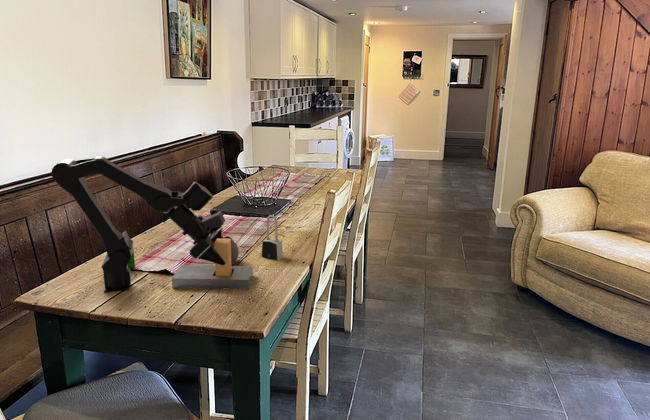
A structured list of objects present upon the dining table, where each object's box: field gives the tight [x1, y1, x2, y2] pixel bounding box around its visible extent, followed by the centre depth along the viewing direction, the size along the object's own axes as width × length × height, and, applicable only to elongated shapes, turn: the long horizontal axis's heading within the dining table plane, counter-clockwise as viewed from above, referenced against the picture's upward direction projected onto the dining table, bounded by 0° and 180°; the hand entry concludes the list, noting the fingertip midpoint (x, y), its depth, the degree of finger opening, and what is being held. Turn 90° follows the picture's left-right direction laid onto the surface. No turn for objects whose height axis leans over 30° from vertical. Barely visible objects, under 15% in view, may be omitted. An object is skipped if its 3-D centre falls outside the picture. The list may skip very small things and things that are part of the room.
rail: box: [171, 264, 254, 290], centre depth 144 cm, size 22×10×3 cm, turn 91°
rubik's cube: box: [127, 249, 136, 269], centre depth 152 cm, size 6×6×6 cm
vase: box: [223, 235, 239, 265], centre depth 157 cm, size 7×7×9 cm
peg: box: [214, 239, 233, 276], centre depth 142 cm, size 4×4×13 cm
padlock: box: [260, 214, 284, 261], centre depth 162 cm, size 7×4×15 cm, turn 65°
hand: (227, 258), depth 142 cm, fingers open, 9 cm apart
